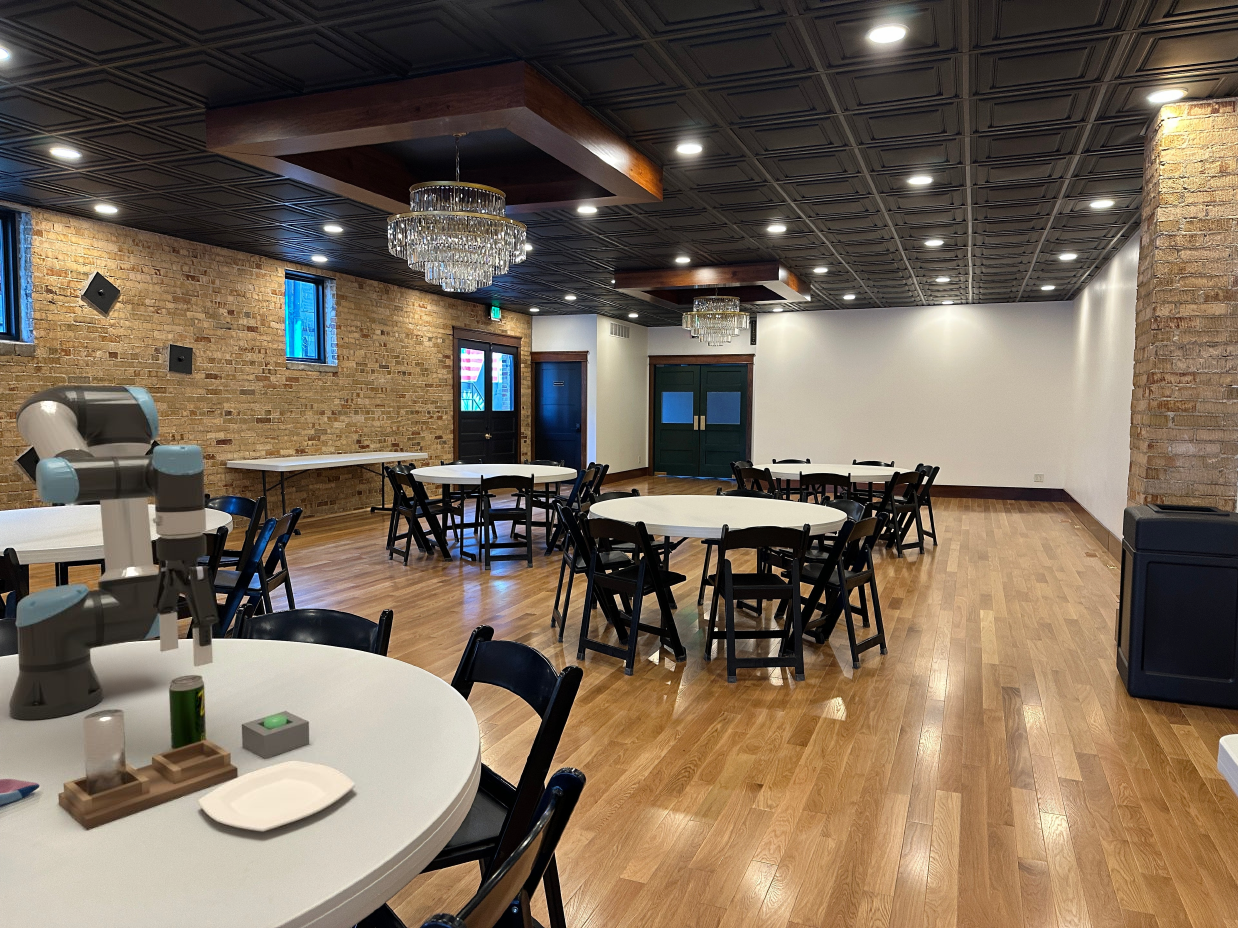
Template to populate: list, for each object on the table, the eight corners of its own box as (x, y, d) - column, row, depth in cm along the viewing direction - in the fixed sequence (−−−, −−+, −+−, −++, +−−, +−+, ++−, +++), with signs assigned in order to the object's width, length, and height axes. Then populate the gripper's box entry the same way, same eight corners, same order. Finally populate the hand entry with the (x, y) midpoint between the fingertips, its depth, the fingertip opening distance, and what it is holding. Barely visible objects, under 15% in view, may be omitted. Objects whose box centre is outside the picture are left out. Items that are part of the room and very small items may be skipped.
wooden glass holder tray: (58, 803, 119) (57, 780, 119) (204, 756, 135) (203, 736, 135) (87, 829, 111) (86, 805, 111) (237, 776, 128) (237, 755, 127)
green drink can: (172, 756, 135) (170, 686, 134) (170, 745, 140) (167, 678, 139) (208, 748, 138) (205, 681, 137) (204, 738, 143) (202, 672, 142)
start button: (260, 735, 139) (260, 718, 139) (280, 729, 142) (279, 712, 142) (270, 740, 137) (270, 723, 137) (290, 734, 140) (290, 717, 140)
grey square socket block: (242, 746, 139) (241, 723, 139) (286, 732, 145) (285, 710, 145) (265, 758, 134) (264, 735, 134) (309, 743, 140) (308, 721, 140)
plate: (259, 852, 106) (259, 838, 106) (179, 814, 116) (178, 801, 116) (373, 794, 122) (373, 781, 122) (294, 765, 133) (293, 753, 132)
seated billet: (81, 795, 118) (78, 716, 117) (119, 783, 122) (116, 706, 121) (94, 805, 115) (90, 724, 114) (132, 793, 119) (129, 714, 118)
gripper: (129, 531, 142) (133, 648, 143) (189, 544, 126) (194, 676, 127) (173, 526, 147) (178, 639, 149) (237, 538, 132) (241, 665, 133)
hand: (185, 656), depth 138 cm, fingers open, 13 cm apart
